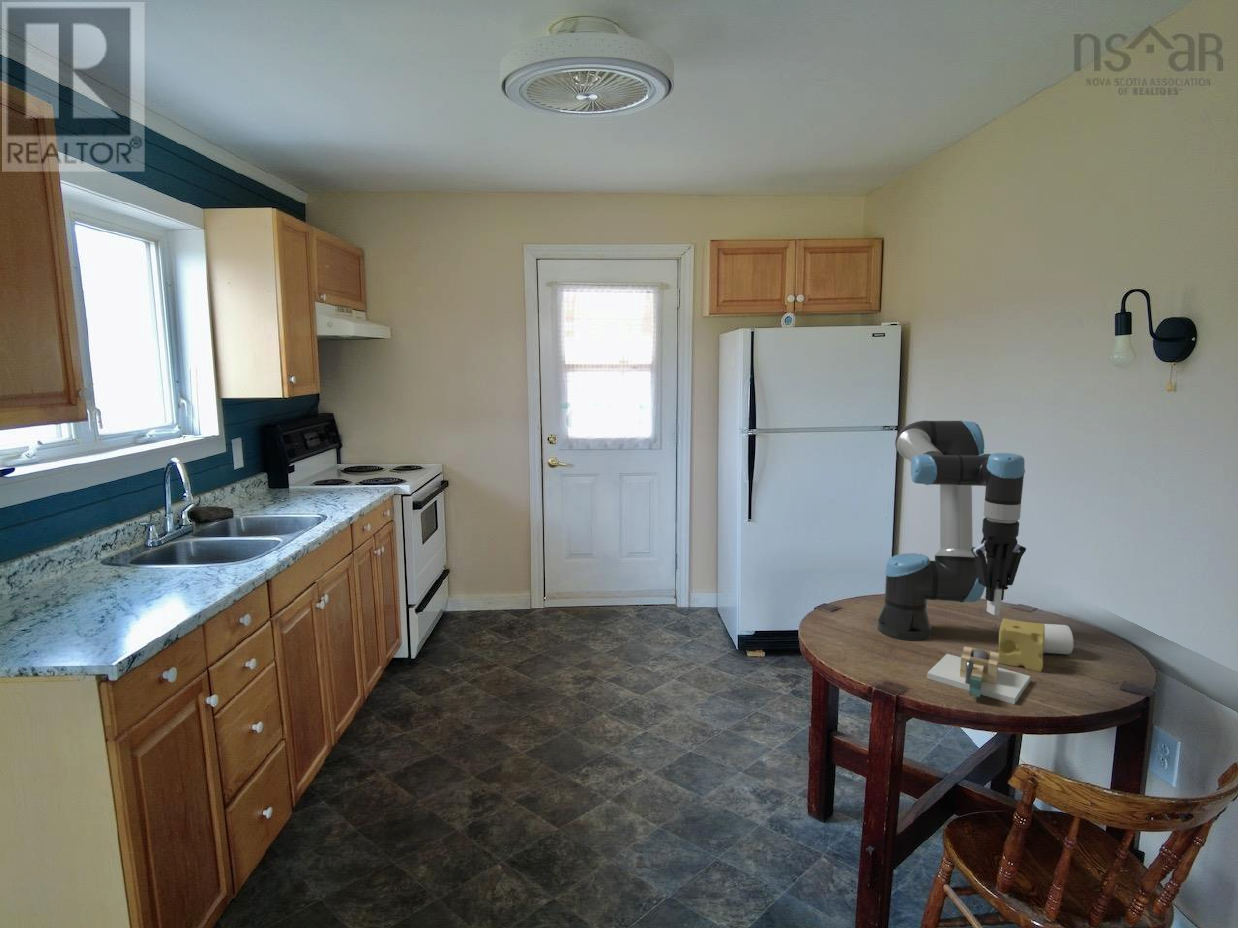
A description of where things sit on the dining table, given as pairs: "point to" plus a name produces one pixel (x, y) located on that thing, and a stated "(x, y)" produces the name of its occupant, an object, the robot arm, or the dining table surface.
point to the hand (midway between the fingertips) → (993, 612)
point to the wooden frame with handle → (979, 669)
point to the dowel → (968, 671)
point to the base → (1004, 689)
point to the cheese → (1021, 644)
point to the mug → (1058, 639)
